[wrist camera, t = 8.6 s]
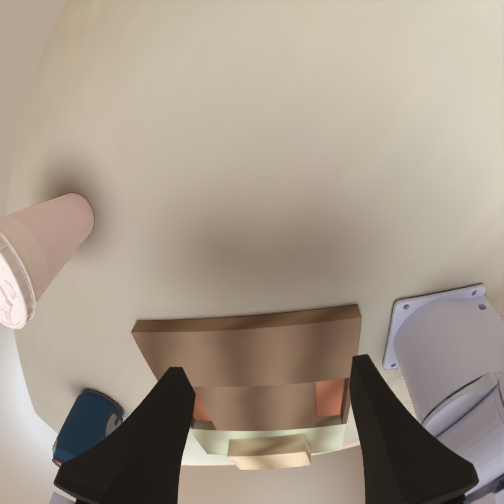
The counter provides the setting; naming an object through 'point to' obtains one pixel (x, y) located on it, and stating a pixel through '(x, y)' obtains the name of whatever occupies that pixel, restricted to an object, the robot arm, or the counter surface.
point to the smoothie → (38, 252)
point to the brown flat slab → (261, 373)
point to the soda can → (86, 425)
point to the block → (270, 452)
